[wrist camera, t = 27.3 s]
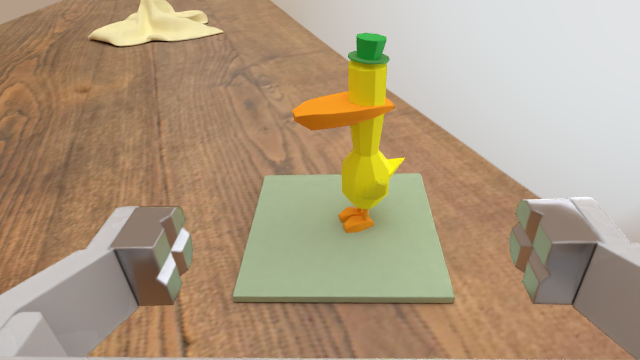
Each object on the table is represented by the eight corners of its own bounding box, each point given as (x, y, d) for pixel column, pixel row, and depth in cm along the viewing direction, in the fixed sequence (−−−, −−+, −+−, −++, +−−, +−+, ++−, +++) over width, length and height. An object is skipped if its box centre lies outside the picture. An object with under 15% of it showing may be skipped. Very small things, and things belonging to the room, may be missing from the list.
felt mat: (419, 178, 33) (420, 173, 32) (454, 303, 23) (455, 297, 22) (265, 180, 33) (265, 175, 33) (233, 302, 23) (232, 296, 23)
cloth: (74, 49, 66) (59, 7, 63) (122, 19, 82) (111, -15, 78) (215, 43, 66) (207, 1, 62) (236, 14, 81) (231, -21, 78)
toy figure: (311, 252, 26) (296, 56, 19) (297, 217, 29) (280, 36, 22) (412, 228, 27) (432, 38, 20) (389, 196, 30) (400, 21, 23)
